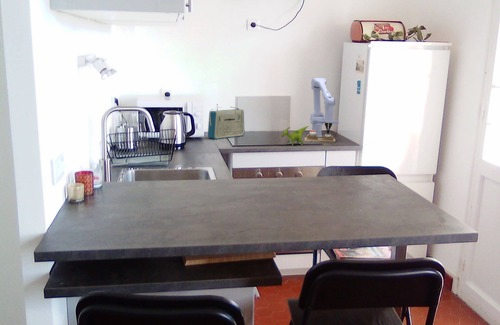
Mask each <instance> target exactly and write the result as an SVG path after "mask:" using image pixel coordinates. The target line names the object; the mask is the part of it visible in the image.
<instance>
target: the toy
mask: <svg viewBox="0 0 500 325" xmlns="http://www.w3.org/2000/svg"><path fill="white" fill-rule="evenodd" d="M308 127H309V125H307V126H304V127H302V128H300V129H298V130H294V131H293V132H292V133H290V134H289V131H288V130H289V129H291V127H287V128H286V129H285V130H284V131H283V132H282V134H281V135H280V136H281V137H282V138H283V137H284V136H285V137H286V138H287V139H288V142H287V144H290V143H292V144H291V146H294V144H295V142H296V144H299V143H301V144H300V146H303V145H304V143H305V142H304V140H302V139H303V135H304V132H305V131H306V130H307V129H308Z"/></svg>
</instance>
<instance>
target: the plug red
mask: <svg viewBox="0 0 500 325" xmlns="http://www.w3.org/2000/svg"><path fill="white" fill-rule="evenodd" d="M309 134H310V135H309V136H316V131H315V130H312V129H311V130H309Z"/></svg>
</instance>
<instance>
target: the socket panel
mask: <svg viewBox="0 0 500 325" xmlns="http://www.w3.org/2000/svg"><path fill="white" fill-rule="evenodd" d="M309 135H310V133H308V134H307V135H306V137H304V140H303V142H311V141H313V142H314V143H333V144H334V143H336V138H334V135H332V134H331V137H325V134H321V135H322V137H318V135H316V136H309Z"/></svg>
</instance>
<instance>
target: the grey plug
mask: <svg viewBox="0 0 500 325" xmlns="http://www.w3.org/2000/svg"><path fill="white" fill-rule="evenodd" d="M324 135H325V137H331V135H332V133H331V132H329V134H328V133H327V132H324Z"/></svg>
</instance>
